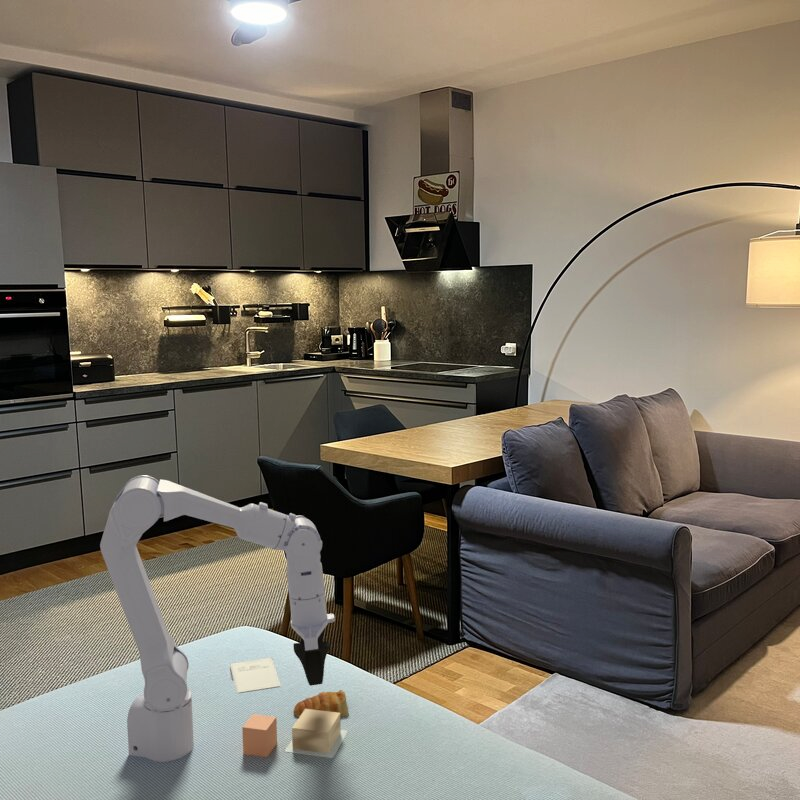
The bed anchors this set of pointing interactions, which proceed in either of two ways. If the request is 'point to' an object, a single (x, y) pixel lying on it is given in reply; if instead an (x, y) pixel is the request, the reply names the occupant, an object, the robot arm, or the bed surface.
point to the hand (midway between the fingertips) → (315, 672)
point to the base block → (316, 731)
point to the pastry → (324, 703)
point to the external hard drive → (254, 675)
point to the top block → (259, 735)
